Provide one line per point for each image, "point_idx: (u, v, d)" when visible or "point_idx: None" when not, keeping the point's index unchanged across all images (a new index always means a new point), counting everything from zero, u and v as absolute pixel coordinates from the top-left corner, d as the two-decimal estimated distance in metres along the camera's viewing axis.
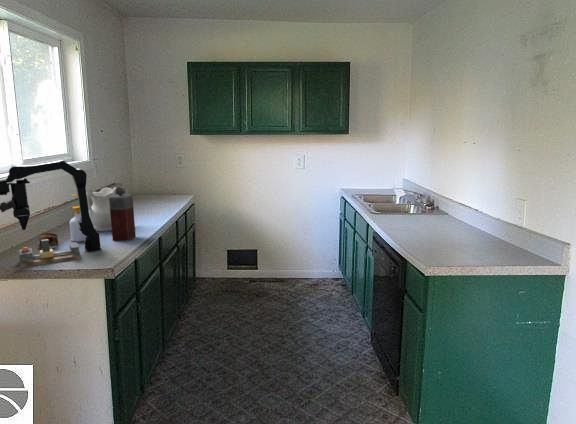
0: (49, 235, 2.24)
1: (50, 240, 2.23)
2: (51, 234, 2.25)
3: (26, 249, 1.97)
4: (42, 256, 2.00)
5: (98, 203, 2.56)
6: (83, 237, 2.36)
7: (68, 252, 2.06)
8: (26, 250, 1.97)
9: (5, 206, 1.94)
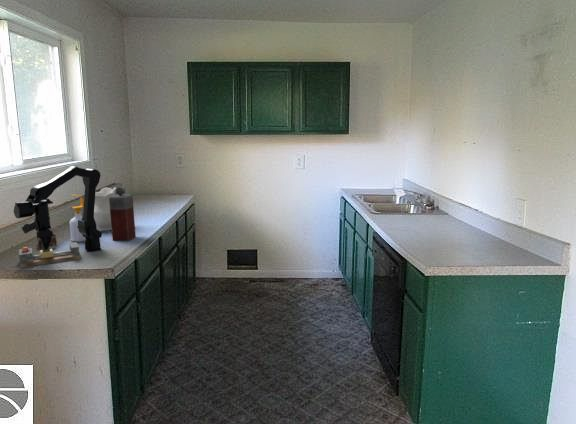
0: None
1: None
2: None
3: (26, 249, 1.97)
4: (42, 256, 2.00)
5: (98, 203, 2.56)
6: (83, 237, 2.36)
7: (68, 252, 2.06)
8: (26, 250, 1.97)
9: (28, 228, 1.93)
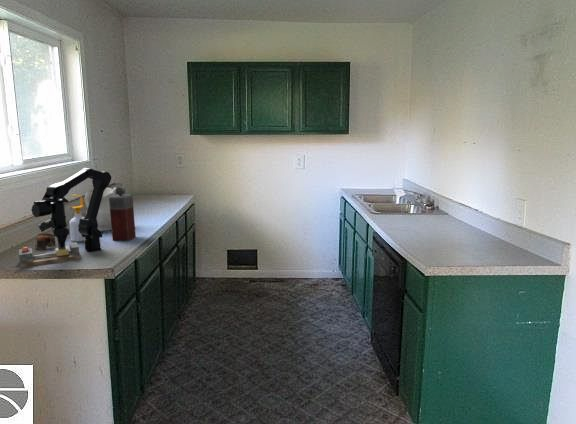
0: (46, 235, 2.23)
1: (47, 240, 2.22)
2: (48, 234, 2.24)
3: (26, 249, 1.97)
4: (58, 254, 2.03)
5: None
6: (83, 237, 2.36)
7: None
8: (26, 250, 1.97)
9: (45, 226, 1.97)
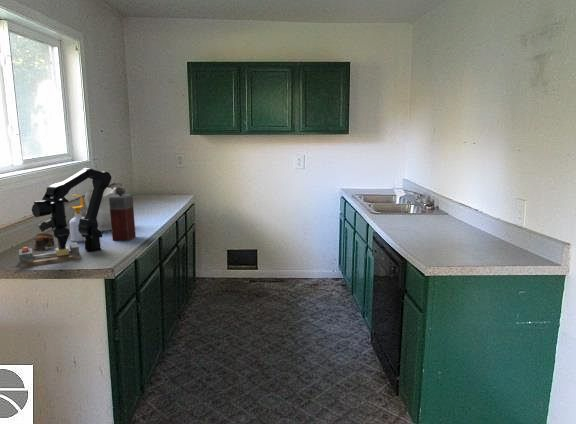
0: (45, 236, 2.23)
1: (46, 241, 2.22)
2: (47, 235, 2.24)
3: (26, 249, 1.97)
4: (58, 254, 2.03)
5: None
6: (83, 237, 2.36)
7: None
8: (26, 250, 1.97)
9: (45, 226, 1.97)
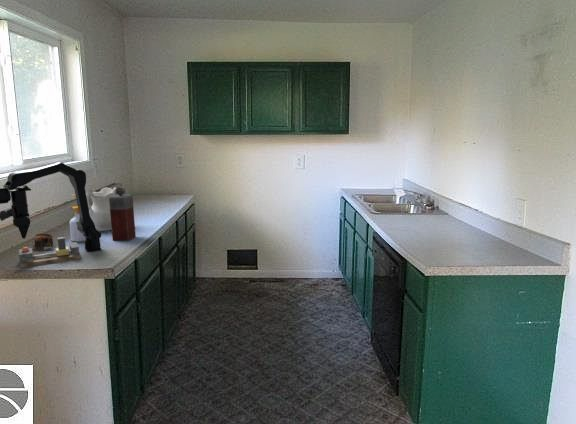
0: (44, 236, 2.23)
1: (45, 241, 2.22)
2: (46, 235, 2.24)
3: (26, 249, 1.97)
4: (58, 254, 2.03)
5: (98, 203, 2.56)
6: (83, 237, 2.36)
7: None
8: (26, 250, 1.97)
9: (5, 215, 1.88)
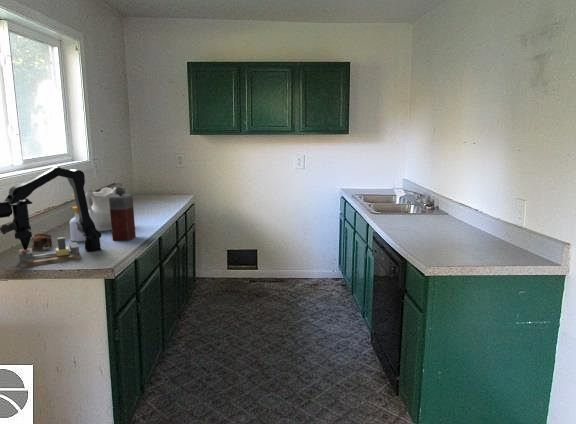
0: (43, 236, 2.22)
1: (44, 241, 2.21)
2: (45, 235, 2.23)
3: (26, 251, 1.97)
4: (58, 254, 2.03)
5: (98, 203, 2.56)
6: (83, 237, 2.36)
7: None
8: None
9: (6, 228, 1.89)
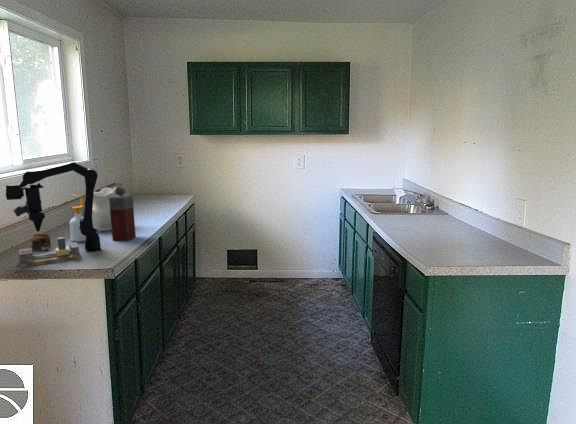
0: (42, 236, 2.22)
1: (43, 241, 2.21)
2: (44, 235, 2.23)
3: None
4: (58, 254, 2.03)
5: (98, 203, 2.56)
6: (83, 237, 2.36)
7: None
8: None
9: (20, 211, 2.00)
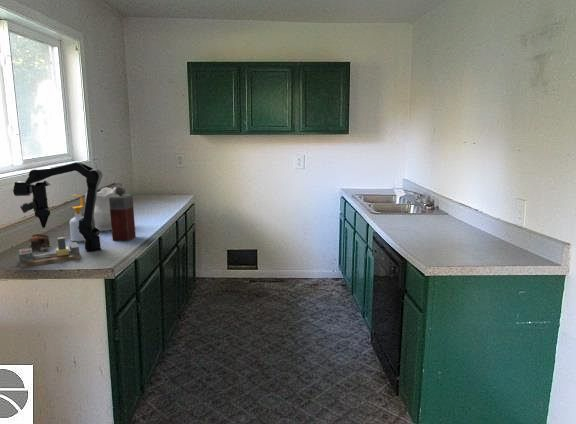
0: (40, 236, 2.22)
1: (42, 241, 2.21)
2: (42, 235, 2.23)
3: None
4: (58, 254, 2.03)
5: (98, 203, 2.56)
6: (83, 237, 2.36)
7: None
8: None
9: (27, 207, 2.06)
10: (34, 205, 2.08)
